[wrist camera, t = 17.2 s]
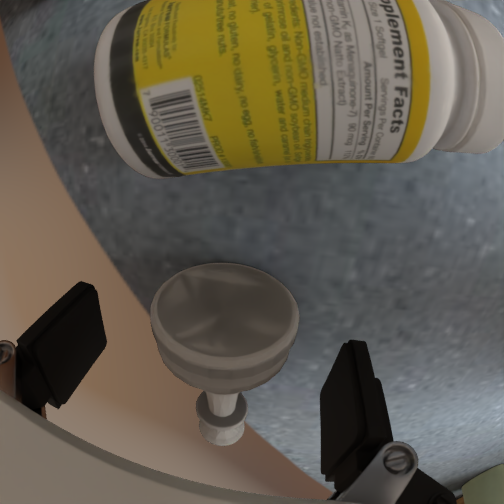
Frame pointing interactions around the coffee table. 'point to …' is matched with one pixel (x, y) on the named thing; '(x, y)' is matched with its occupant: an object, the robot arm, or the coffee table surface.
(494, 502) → the cup
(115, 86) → the supplement bottle
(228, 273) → the chess piece
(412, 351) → the coffee table surface
